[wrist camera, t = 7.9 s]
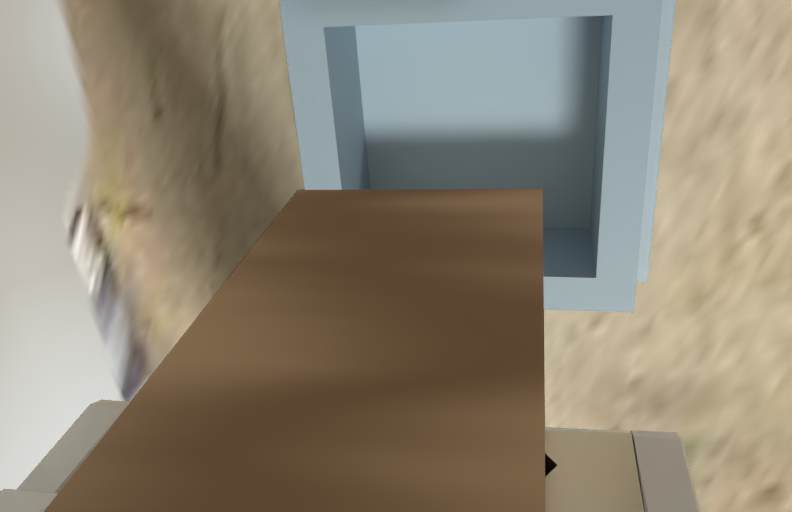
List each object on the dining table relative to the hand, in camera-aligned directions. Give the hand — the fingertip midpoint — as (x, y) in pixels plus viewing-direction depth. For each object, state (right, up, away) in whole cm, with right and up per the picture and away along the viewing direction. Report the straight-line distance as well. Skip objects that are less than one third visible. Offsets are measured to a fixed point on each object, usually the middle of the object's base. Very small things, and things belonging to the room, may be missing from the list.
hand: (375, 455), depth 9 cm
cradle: (+3, +7, +12) cm, 14 cm away
